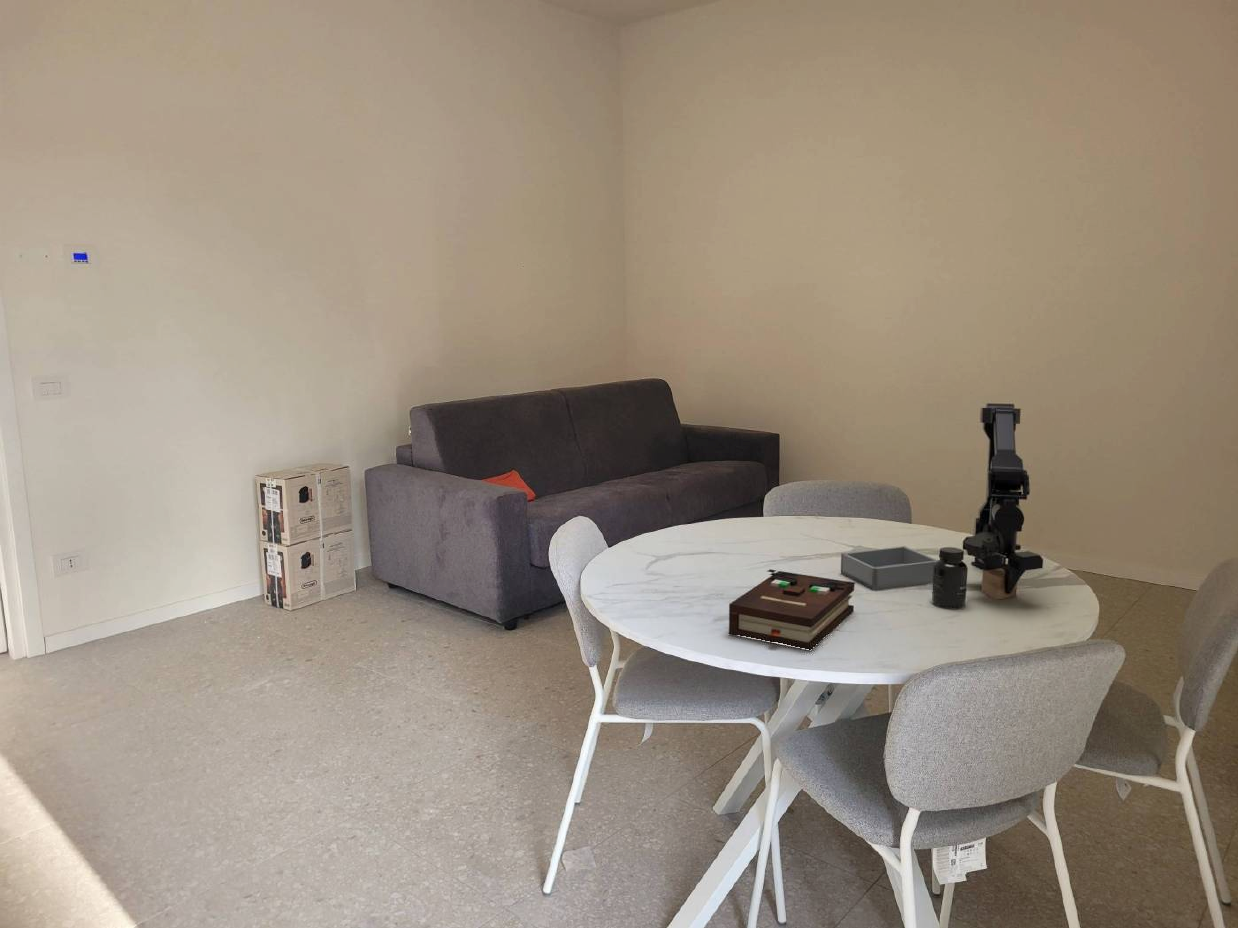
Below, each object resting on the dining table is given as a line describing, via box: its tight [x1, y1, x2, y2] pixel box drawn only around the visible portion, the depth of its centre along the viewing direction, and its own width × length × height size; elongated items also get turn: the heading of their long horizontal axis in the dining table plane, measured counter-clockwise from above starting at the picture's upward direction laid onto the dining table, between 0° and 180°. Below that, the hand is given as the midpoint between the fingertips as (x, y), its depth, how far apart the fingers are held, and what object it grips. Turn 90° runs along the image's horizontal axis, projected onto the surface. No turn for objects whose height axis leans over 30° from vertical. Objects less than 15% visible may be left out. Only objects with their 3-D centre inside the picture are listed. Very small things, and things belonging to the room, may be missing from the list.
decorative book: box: [728, 568, 856, 650], centre depth 185 cm, size 19×8×30 cm
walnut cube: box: [981, 568, 1018, 600], centre depth 200 cm, size 5×5×5 cm
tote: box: [840, 545, 939, 591], centre depth 213 cm, size 18×14×5 cm
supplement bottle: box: [931, 546, 969, 609], centre depth 194 cm, size 7×7×12 cm
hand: (999, 589), depth 201 cm, fingers closed on walnut cube, 5 cm apart
